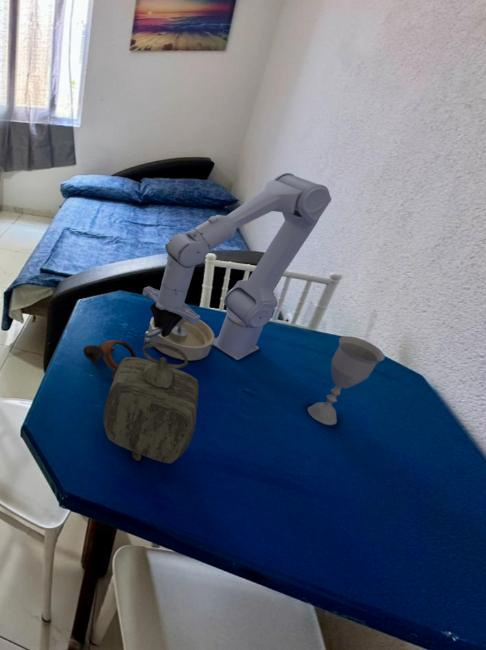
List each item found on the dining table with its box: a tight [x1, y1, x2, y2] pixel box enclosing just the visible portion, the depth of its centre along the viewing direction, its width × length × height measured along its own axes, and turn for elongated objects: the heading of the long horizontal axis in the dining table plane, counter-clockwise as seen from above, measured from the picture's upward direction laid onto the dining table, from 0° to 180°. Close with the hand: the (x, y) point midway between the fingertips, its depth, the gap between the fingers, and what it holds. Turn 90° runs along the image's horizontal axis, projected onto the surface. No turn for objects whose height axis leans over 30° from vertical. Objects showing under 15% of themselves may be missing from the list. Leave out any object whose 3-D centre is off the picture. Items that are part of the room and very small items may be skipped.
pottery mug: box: [83, 340, 138, 381], centre depth 95 cm, size 12×10×8 cm
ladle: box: [141, 318, 188, 353], centre depth 100 cm, size 15×4×6 cm, turn 120°
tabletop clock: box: [102, 342, 200, 464], centre depth 70 cm, size 14×9×25 cm, turn 64°
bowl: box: [147, 311, 215, 361], centre depth 104 cm, size 15×15×4 cm
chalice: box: [307, 335, 386, 426], centre depth 81 cm, size 7×7×18 cm
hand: (161, 332), depth 99 cm, fingers closed on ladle
